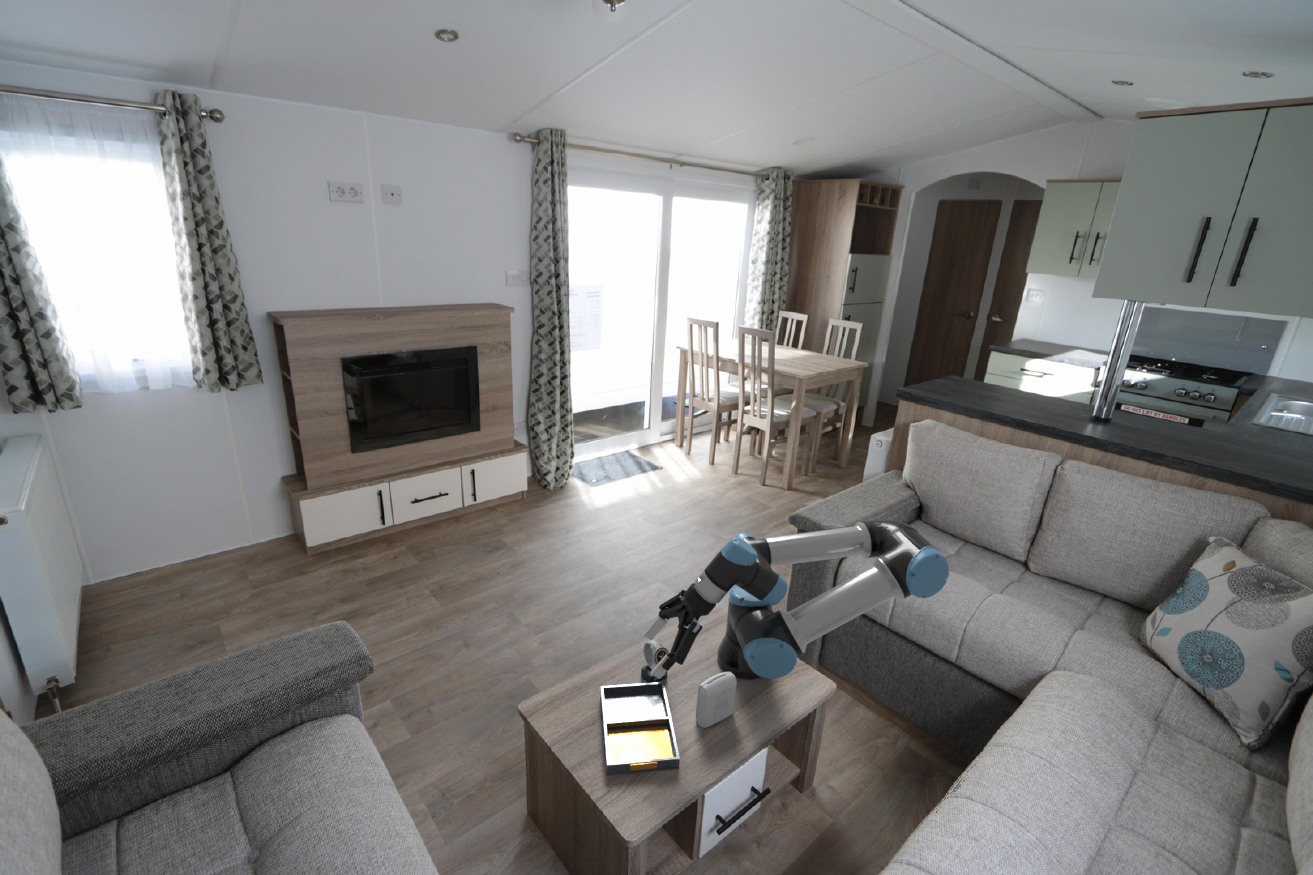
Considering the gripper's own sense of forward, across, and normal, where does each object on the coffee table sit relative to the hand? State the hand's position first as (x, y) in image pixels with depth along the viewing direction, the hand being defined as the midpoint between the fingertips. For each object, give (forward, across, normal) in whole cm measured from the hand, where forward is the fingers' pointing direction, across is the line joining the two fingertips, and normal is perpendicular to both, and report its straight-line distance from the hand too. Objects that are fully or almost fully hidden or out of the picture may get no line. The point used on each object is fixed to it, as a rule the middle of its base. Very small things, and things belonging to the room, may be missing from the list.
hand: (650, 655), depth 149 cm
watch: (+11, -9, +11) cm, 18 cm away
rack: (+15, +8, +6) cm, 17 cm away
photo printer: (+3, +6, +22) cm, 23 cm away
